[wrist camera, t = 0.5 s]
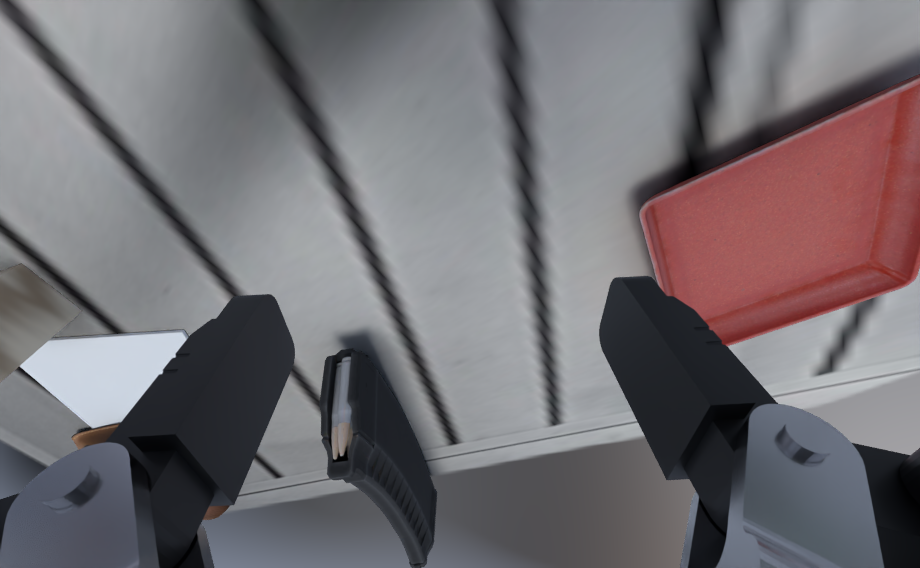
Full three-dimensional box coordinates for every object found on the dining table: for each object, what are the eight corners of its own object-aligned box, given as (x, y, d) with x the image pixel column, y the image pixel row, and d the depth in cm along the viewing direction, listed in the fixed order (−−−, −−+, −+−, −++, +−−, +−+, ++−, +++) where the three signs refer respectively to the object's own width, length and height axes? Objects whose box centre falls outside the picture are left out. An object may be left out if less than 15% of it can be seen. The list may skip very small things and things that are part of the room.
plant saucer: (663, 338, 36) (680, 365, 34) (618, 188, 26) (637, 208, 24) (877, 260, 32) (917, 284, 29) (920, 42, 22) (987, 47, 19)
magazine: (441, 565, 46) (344, 590, 22) (415, 568, 46) (291, 596, 22) (433, 423, 56) (361, 332, 32) (412, 426, 56) (325, 338, 32)
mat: (-3, 341, 32) (-7, 344, 32) (183, 329, 32) (181, 332, 32) (100, 430, 40) (98, 433, 40) (247, 420, 41) (245, 423, 40)
